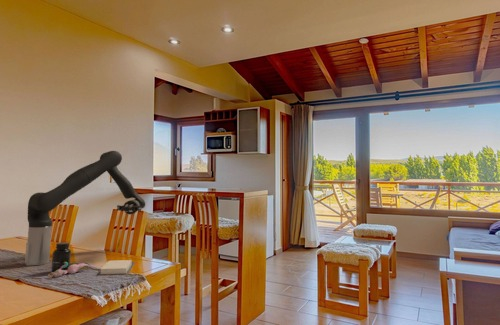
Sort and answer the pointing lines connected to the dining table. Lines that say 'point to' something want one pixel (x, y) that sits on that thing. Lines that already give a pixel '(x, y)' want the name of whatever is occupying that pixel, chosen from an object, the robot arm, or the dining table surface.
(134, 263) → the mat
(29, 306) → the dining table surface
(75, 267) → the rabbit figure
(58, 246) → the supplement bottle
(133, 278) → the dining table surface
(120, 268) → the tile
